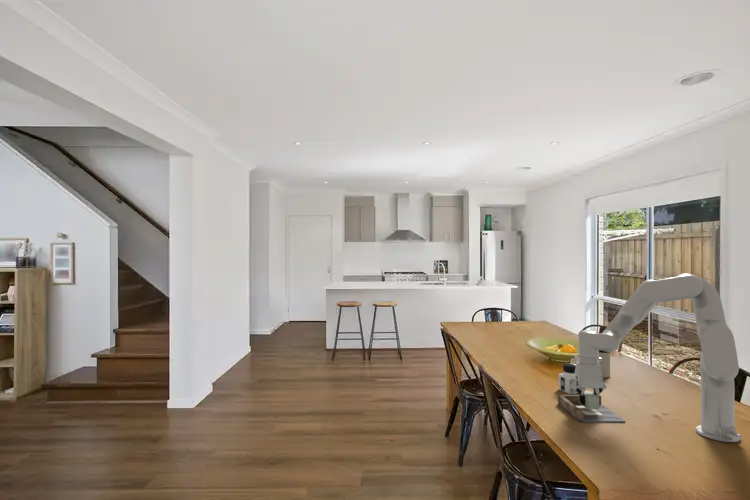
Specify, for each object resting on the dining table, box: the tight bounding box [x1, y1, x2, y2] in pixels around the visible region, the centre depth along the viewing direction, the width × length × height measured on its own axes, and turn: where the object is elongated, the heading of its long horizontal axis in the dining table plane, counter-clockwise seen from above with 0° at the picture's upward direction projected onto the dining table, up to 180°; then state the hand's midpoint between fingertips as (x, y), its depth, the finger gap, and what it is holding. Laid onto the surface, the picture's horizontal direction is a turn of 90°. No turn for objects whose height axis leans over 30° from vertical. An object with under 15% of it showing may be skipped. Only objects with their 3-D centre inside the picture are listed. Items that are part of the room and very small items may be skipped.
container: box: [558, 362, 579, 395], centre depth 204 cm, size 8×8×13 cm
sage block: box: [579, 390, 599, 410], centre depth 178 cm, size 4×8×5 cm, turn 179°
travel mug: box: [599, 350, 611, 379], centre depth 229 cm, size 8×8×18 cm
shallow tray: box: [557, 394, 626, 424], centre depth 177 cm, size 20×18×4 cm
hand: (588, 403), depth 178 cm, fingers closed on sage block, 4 cm apart
